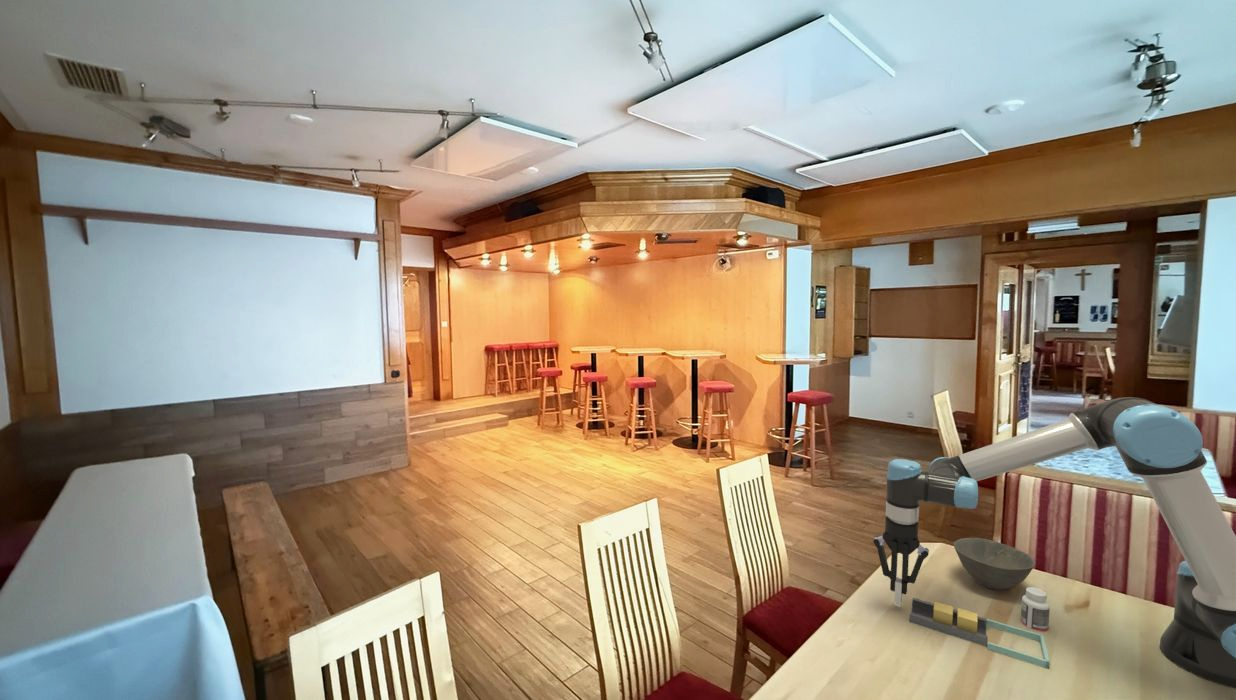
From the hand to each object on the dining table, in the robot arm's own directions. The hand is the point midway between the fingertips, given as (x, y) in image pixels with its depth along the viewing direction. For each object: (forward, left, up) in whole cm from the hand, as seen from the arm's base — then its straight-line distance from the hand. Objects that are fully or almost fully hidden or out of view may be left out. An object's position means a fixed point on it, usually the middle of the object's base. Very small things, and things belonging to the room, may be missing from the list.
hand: (898, 603), depth 130 cm
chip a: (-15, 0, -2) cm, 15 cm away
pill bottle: (-29, -13, -3) cm, 32 cm away
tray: (-25, 0, -3) cm, 25 cm away
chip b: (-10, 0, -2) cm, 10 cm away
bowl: (-21, -31, -3) cm, 37 cm away
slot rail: (-11, 0, -3) cm, 11 cm away
